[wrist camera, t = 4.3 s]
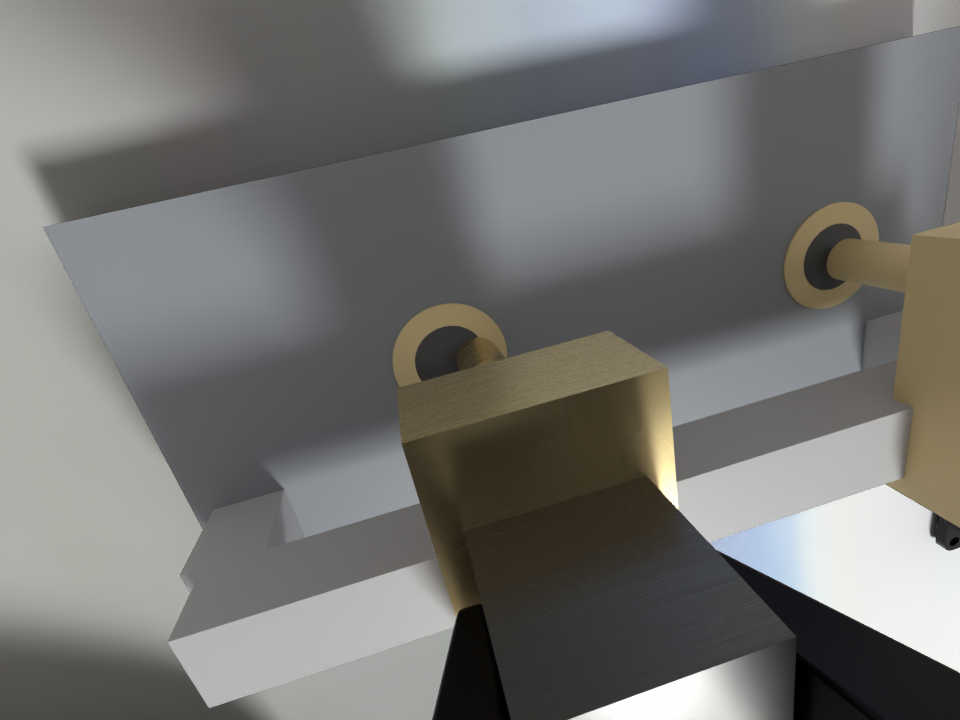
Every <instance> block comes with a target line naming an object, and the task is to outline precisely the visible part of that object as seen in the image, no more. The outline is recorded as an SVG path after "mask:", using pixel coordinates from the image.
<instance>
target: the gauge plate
mask: <svg viewBox="0 0 960 720" xmlns="http://www.w3.org/2000/svg"><path fill="white" fill-rule="evenodd" d="M959 102H960V26H958V27H954V28H949V29H945V30H940V31H935V32H931V33H926V34H922V35H917V36H913V37H908V38H904V39H899V40H894V41H890V42H885V43H881V44H876V45H872V46H867V47H862V48H858V49H853V50H849V51H844V52H840V53H835V54H831V55H826V56H821V57H817V58H812V59H808V60H803V61H799V62H794V63H790V64H785V65H780V66H776V67H771V68H767V69H762V70H758V71H753V72H748V73H744V74H739V75H735V76H730V77H726V78H721V79H717V80H712V81H707V82H703V83H698V84H694V85H689V86H685V87H680V88H675V89H671V90H666V91H662V92H657V93H653V94H648V95H644V96H639V97H634V98H630V99H625V100H621V101H616V102H612V103H607V104H602V105H598V106H593V107H589V108H584V109H580V110H575V111H571V112H566V113H561V114H557V115H552V116H548V117H543V118H539V119H534V120H529V121H525V122H520V123H516V124H511V125H507V126H502V127H498V128H493V129H488V130H484V131H479V132H475V133H470V134H466V135H461V136H457V137H452V138H447V139H443V140H438V141H434V142H429V143H425V144H420V145H415V146H411V147H406V148H402V149H397V150H393V151H388V152H384V153H379V154H374V155H370V156H365V157H361V158H356V159H352V160H347V161H342V162H338V163H333V164H329V165H324V166H320V167H315V168H311V169H306V170H301V171H297V172H292V173H288V174H283V175H279V176H274V177H269V178H265V179H260V180H256V181H251V182H247V183H242V184H238V185H233V186H228V187H224V188H219V189H215V190H210V191H206V192H201V193H196V194H192V195H187V196H183V197H178V198H174V199H169V200H165V201H160V202H155V203H151V204H146V205H142V206H137V207H133V208H128V209H124V210H119V211H114V212H110V213H105V214H101V215H96V216H92V217H87V218H82V219H78V220H73V221H69V222H64V223H60V224H55V225H51V226H46V227H43V228H44V230H45V232H46V234H47V236H48V238H49V240H50V242H51V244H52V245H53V247H54V249H55V251H56V253H57V255H58V257H59V259H60V261H61V262H62V264H63V266H64V268H65V270H66V272H67V274H68V276H69V278H70V280H71V281H72V283H73V285H74V287H75V289H76V291H77V293H78V295H79V297H80V298H81V300H82V302H83V304H84V306H85V308H86V310H87V312H88V314H89V315H90V317H91V319H92V321H93V323H94V325H95V327H96V329H97V331H98V332H99V334H100V336H101V338H102V340H103V342H104V344H105V346H106V348H107V349H108V351H109V353H110V355H111V357H112V359H113V361H114V363H115V365H116V366H117V368H118V370H119V372H120V374H121V376H122V378H123V380H124V382H125V384H126V385H127V387H128V389H129V391H130V393H131V395H132V397H133V399H134V401H135V402H136V404H137V406H138V408H139V410H140V412H141V414H142V416H143V418H144V419H145V421H146V423H147V425H148V427H149V429H150V431H151V433H152V435H153V436H154V438H155V440H156V442H157V444H158V446H159V448H160V450H161V452H162V453H163V455H164V457H165V459H166V461H167V463H168V465H169V467H170V469H171V470H172V472H173V474H174V476H175V478H176V480H177V482H178V484H179V486H180V487H181V489H182V491H183V493H184V495H185V497H186V499H187V501H188V503H189V505H190V506H191V508H192V510H193V512H194V514H195V516H196V518H197V520H198V522H199V523H200V525H201V527H202V529H203V531H202V533H201V535H200V537H199V539H198V541H197V543H196V545H195V547H194V549H193V550H192V552H191V554H190V556H189V558H188V560H187V562H186V564H185V566H184V568H183V570H182V572H181V574H180V577H181V578H182V580H183V582H184V584H185V585H186V587H187V589H188V591H189V592H190V595H189V597H188V599H187V601H186V604H185V606H184V608H183V610H182V612H181V614H180V616H179V619H178V621H177V623H176V625H175V627H174V629H173V632H172V634H171V636H170V638H169V640H168V644H169V645H170V647H171V649H172V650H173V652H174V653H175V655H176V657H177V658H178V660H179V661H180V663H181V665H182V666H183V668H184V669H185V671H186V672H187V674H188V676H189V677H190V679H191V680H192V682H193V684H194V685H195V687H196V688H197V690H198V691H199V693H200V695H201V696H202V698H203V699H204V701H205V703H206V704H207V706H208V707H209V708H211V707H214V706H217V705H220V704H223V703H226V702H229V701H232V700H235V699H238V698H241V697H244V696H247V695H250V694H253V693H256V692H259V691H262V690H265V689H268V688H271V687H274V686H278V685H281V684H284V683H287V682H290V681H293V680H296V679H299V678H302V677H305V676H308V675H311V674H314V673H317V672H320V671H323V670H326V669H329V668H332V667H335V666H338V665H341V664H344V663H347V662H350V661H353V660H356V659H359V658H362V657H365V656H368V655H371V654H374V653H377V652H380V651H383V650H386V649H389V648H392V647H395V646H398V645H401V644H404V643H407V642H410V641H413V640H416V639H419V638H422V637H425V636H428V635H431V634H434V633H437V632H440V631H443V630H446V629H449V628H452V627H454V624H455V620H456V617H455V613H454V610H453V607H452V604H451V601H450V597H449V594H448V591H447V588H446V585H445V581H444V578H443V575H442V572H441V569H440V565H439V562H438V559H437V556H436V553H435V549H434V546H433V543H432V540H431V537H430V533H429V530H428V527H427V524H426V521H425V518H424V514H423V511H422V508H421V505H420V502H419V498H418V495H417V492H416V489H415V486H414V482H413V479H412V476H411V473H410V470H409V466H408V463H407V460H406V457H405V454H404V450H403V447H402V444H401V434H400V423H399V412H398V400H397V389H396V388H400V387H403V386H407V385H411V384H414V383H418V382H422V381H425V380H429V379H433V378H436V377H440V376H444V375H447V374H451V373H455V372H458V371H459V369H458V367H457V363H456V356H457V353H458V350H459V349H460V347H461V346H462V345H463V344H464V343H465V342H466V341H468V340H470V339H473V338H486V339H488V340H490V341H492V342H493V343H494V344H495V345H496V346H497V348H498V349H499V350H500V352H501V353H502V354H503V356H504V357H505V358H510V357H513V356H517V355H521V354H524V353H528V352H532V351H535V350H539V349H542V348H546V347H550V346H553V345H557V344H561V343H564V342H568V341H572V340H575V339H579V338H583V337H586V336H590V335H594V334H597V333H601V332H605V331H610V332H612V333H613V334H615V335H617V336H618V337H620V338H621V339H623V340H625V341H626V342H628V343H629V344H631V345H633V346H634V347H636V348H637V349H639V350H641V351H642V352H644V353H646V354H647V355H649V356H650V357H652V358H654V359H655V360H657V361H658V362H660V363H662V364H663V365H665V366H666V367H668V373H669V387H670V401H671V415H672V429H673V442H674V456H675V470H676V484H677V497H678V510H679V511H680V512H681V513H682V514H683V515H684V516H685V517H686V519H687V520H688V521H689V522H690V523H691V524H692V525H693V526H694V527H695V528H696V529H697V530H698V531H699V532H700V534H701V535H702V536H703V537H704V538H705V539H706V540H707V541H708V542H712V541H715V540H718V539H721V538H724V537H727V536H730V535H733V534H736V533H739V532H742V531H745V530H748V529H751V528H754V527H757V526H760V525H763V524H766V523H769V522H772V521H775V520H778V519H781V518H784V517H787V516H790V515H793V514H796V513H799V512H802V511H805V510H808V509H811V508H814V507H817V506H820V505H823V504H826V503H829V502H832V501H835V500H838V499H841V498H844V497H847V496H850V495H853V494H856V493H859V492H862V491H865V490H868V489H871V488H874V487H877V486H880V485H883V484H886V485H888V486H889V487H891V488H893V489H894V490H896V491H898V492H900V493H901V494H903V495H905V496H906V497H908V498H910V499H912V500H913V501H915V502H917V503H918V504H920V505H922V506H924V507H925V508H927V509H929V510H930V511H932V512H934V513H935V514H937V515H939V516H941V517H942V518H944V519H946V520H947V521H949V522H951V523H953V524H954V525H956V526H958V527H959V528H960V222H957V223H954V224H950V225H946V226H942V225H943V217H944V210H945V203H946V196H947V189H948V181H949V174H950V167H951V160H952V152H953V145H954V138H955V131H956V123H957V116H958V109H959Z"/></svg>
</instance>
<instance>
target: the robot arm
mask: <svg viewBox="0 0 960 720" xmlns="http://www.w3.org/2000/svg"><path fill="white" fill-rule="evenodd" d="M936 543H937V544H938V545H940V546H941V547H943V548H945V549H946V550H949V551H950V550H954V549H957V548H960V528H959V527H958V526H956V525H954V524H953V523H951V522H949V521H947V520H946V519H944V518H942V517H941V516H940V517H939V522H938V528H937V534H936ZM716 551H717V550H716ZM717 552H718V553H719V554H720V555H721V556H722V557H723V558H724V559H725V560H726V561H727V563H728V564H729V565H730V566H731V567H732V568H733V569H734V570H735V571H736V572H737V573H738V574H739V575H740V576H741V578H742V579H743V580H744V581H745V582H746V583H747V584H748V585H749V586H750V587H751V588H752V589H753V590H754V592H755V593H756V594H757V595H758V596H759V597H760V598H761V599H762V600H763V601H764V602H765V603H766V604H767V605H768V607H769V608H770V609H771V610H772V611H773V612H774V613H775V614H776V615H777V616H778V617H779V618H780V619H781V620H782V622H783V623H784V624H785V625H786V626H787V627H788V628H789V629H790V630H791V631H792V632H793V633H794V634H795V636H796V637H797V643H796V665H795V688H794V711H793V720H960V673H959V672H957V671H955V670H953V669H951V668H949V667H947V666H945V665H943V664H941V663H939V662H937V661H935V660H933V659H932V658H930V657H928V656H926V655H924V654H922V653H920V652H918V651H916V650H914V649H912V648H910V647H908V646H906V645H904V644H902V643H900V642H898V641H896V640H894V639H892V638H890V637H888V636H886V635H884V634H882V633H880V632H878V631H876V630H874V629H872V628H870V627H868V626H866V625H864V624H862V623H860V622H858V621H856V620H854V619H852V618H850V617H848V616H846V615H844V614H842V613H840V612H838V611H836V610H834V609H832V608H830V607H828V606H826V605H824V604H822V603H820V602H819V601H817V600H815V599H813V598H811V597H809V596H807V595H805V594H803V593H801V592H799V591H797V590H795V589H793V588H791V587H789V586H787V585H785V584H783V583H781V582H779V581H777V580H775V579H773V578H771V577H769V576H767V575H765V574H763V573H761V572H759V571H757V570H755V569H753V568H751V567H749V566H747V565H745V564H743V563H741V562H739V561H737V560H735V559H733V558H731V557H729V556H727V555H725V554H723V553H721V552H719V551H717ZM432 720H511V718H510V714H509V710H508V706H507V702H506V698H505V694H504V690H503V686H502V682H501V678H500V674H499V670H498V666H497V662H496V658H495V654H494V650H493V646H492V642H491V638H490V634H489V630H488V626H487V622H486V618H485V614H484V610H483V606H482V604H481V603H478V604H475V605H472V606H469V607H466V608H463V609H461V610H459V612H458V614H457V616H456V620H455V624H454V629H453V633H452V637H451V642H450V646H449V650H448V654H447V659H446V663H445V667H444V671H443V676H442V680H441V684H440V689H439V693H438V697H437V701H436V706H435V710H434V714H433V718H432Z"/></svg>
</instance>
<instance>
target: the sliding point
mask: <svg viewBox="0 0 960 720" xmlns="http://www.w3.org/2000/svg"><path fill="white" fill-rule="evenodd" d="M456 363H457V367H458V369H459V371H458V372H455V373H451V374H447V375H444V376H440V377H436V378H433V379H429V380H425V381H422V382H418V383H414V384H411V385H407V386H403V387H400V388H396V389H397V400H398V412H399V423H400V434H401V444H402V447H403V450H404V454H405V457H406V460H407V463H408V466H409V470H410V473H411V476H412V479H413V482H414V486H415V489H416V492H417V495H418V498H419V502H420V505H421V508H422V511H423V514H424V518H425V521H426V524H427V527H428V530H429V533H430V537H431V540H432V543H433V546H434V549H435V553H436V556H437V559H438V562H439V565H440V569H441V572H442V575H443V578H444V581H445V585H446V588H447V591H448V594H449V597H450V601H451V604H452V607H453V610H454V613H455V617H456V616H457V614H458V612H459V610H461V609H463V608H466V607H469V606H472V605H475V604H478V603H481V604H482V606H483V610H484V614H485V618H486V622H487V626H488V630H489V634H490V638H491V642H492V646H493V650H494V654H495V658H496V662H497V666H498V670H499V674H500V678H501V682H502V686H503V690H504V694H505V698H506V702H507V706H508V710H509V714H510V718H511V720H793V711H794V688H795V665H796V643H797V637H796V636H795V634H794V633H793V632H792V631H791V630H790V629H789V628H788V627H787V626H786V625H785V624H784V623H783V622H782V620H781V619H780V618H779V617H778V616H777V615H776V614H775V613H774V612H773V611H772V610H771V609H770V608H769V607H768V605H767V604H766V603H765V602H764V601H763V600H762V599H761V598H760V597H759V596H758V595H757V594H756V593H755V592H754V590H753V589H752V588H751V587H750V586H749V585H748V584H747V583H746V582H745V581H744V580H743V579H742V578H741V576H740V575H739V574H738V573H737V572H736V571H735V570H734V569H733V568H732V567H731V566H730V565H729V564H728V563H727V561H726V560H725V559H724V558H723V557H722V556H721V555H720V554H719V553H718V552H717V551H716V550H715V549H714V548H713V546H712V545H711V544H710V543H709V542H708V541H707V540H706V539H705V538H704V537H703V536H702V535H701V534H700V532H699V531H698V530H697V529H696V528H695V527H694V526H693V525H692V524H691V523H690V522H689V521H688V520H687V519H686V517H685V516H684V515H683V514H682V513H681V512H680V511H679V510H678V497H677V484H676V470H675V456H674V442H673V429H672V415H671V401H670V387H669V373H668V367H666V366H665V365H663V364H662V363H660V362H658V361H657V360H655V359H654V358H652V357H650V356H649V355H647V354H646V353H644V352H642V351H641V350H639V349H637V348H636V347H634V346H633V345H631V344H629V343H628V342H626V341H625V340H623V339H621V338H620V337H618V336H617V335H615V334H613V333H612V332H610V331H605V332H601V333H597V334H594V335H590V336H586V337H583V338H579V339H575V340H572V341H568V342H564V343H561V344H557V345H553V346H550V347H546V348H542V349H539V350H535V351H532V352H528V353H524V354H521V355H517V356H513V357H510V358H505V357H504V356H503V354H502V353H501V352H500V350H499V349H498V348H497V346H496V345H495V344H494V343H493V342H492V341H490V340H488V339H486V338H473V339H470V340H468V341H466V342H465V343H464V344H463V345H462V346H461V347H460V349H459V350H458V353H457V356H456Z"/></svg>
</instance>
